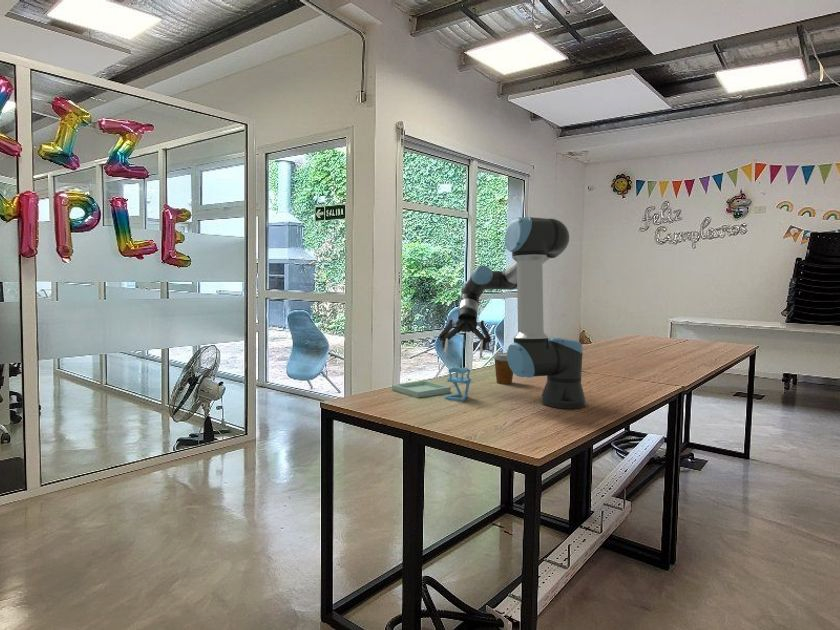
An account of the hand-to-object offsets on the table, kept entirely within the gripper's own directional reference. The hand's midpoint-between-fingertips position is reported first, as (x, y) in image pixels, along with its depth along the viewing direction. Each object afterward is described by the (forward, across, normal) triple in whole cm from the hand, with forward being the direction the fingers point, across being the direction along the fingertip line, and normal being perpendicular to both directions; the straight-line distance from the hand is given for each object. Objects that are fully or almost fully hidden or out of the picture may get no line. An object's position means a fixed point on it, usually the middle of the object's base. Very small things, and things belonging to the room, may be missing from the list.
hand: (462, 354), depth 211 cm
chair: (+18, 0, -3) cm, 18 cm away
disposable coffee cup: (-6, -15, -26) cm, 31 cm away
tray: (+12, +16, -8) cm, 21 cm away
